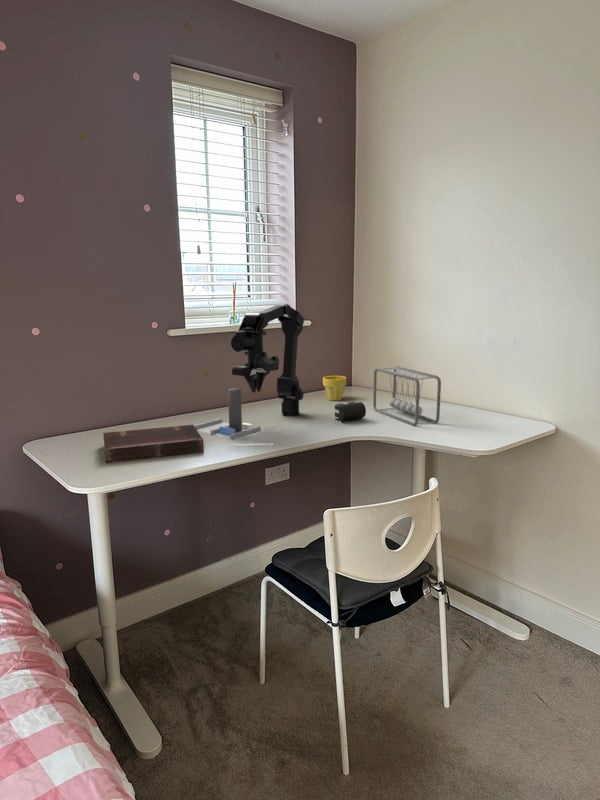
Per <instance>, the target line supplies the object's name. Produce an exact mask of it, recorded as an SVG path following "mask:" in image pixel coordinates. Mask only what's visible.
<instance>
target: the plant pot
mask: <svg viewBox="0 0 600 800" xmlns="http://www.w3.org/2000/svg"><path fill="white" fill-rule="evenodd" d="M322 385H323V386H324V390H325V394H326V399H327V400H328V401H342V400H343V398H344V391H345V387H346V386H347V377H346V376H343V375H327V376H323V377H322Z"/></svg>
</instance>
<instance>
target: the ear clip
mask: <svg viewBox="0 0 600 800" xmlns="http://www.w3.org/2000/svg"><path fill="white" fill-rule="evenodd" d="M253 427H254V424H252V423H248V422H242V428H245V429H250V428H253Z"/></svg>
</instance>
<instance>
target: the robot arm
mask: <svg viewBox="0 0 600 800" xmlns="http://www.w3.org/2000/svg"><path fill="white" fill-rule="evenodd" d="M276 319H277V321H279V323H280V324H281V330H282V332H283V334H284V348H283V349H284V350H283V351H284V352H283V365H282V366H283V367H282V373H281V375H280V376H278V377H277V379H276V392H277V395H278V396H277V397H278V399H279V400H280V399H281V400H282V401H281V413H282V416H300V401H302V400H303V399H304V392H303V390H302V389H301V387H300V380H299V378H298V376H297V374H296V370H297V369H296V368H297V356H298V355H297V352H298V338H299V336H300V334H301V333H302V331H303V328H304V323H305V319H304V317H303V315H302V314H301V313H300V311H298V310H296V309H294V308H293V307H291V305H290V304H288V303H277V304H275V305H273V306H271V307H269V308H267V309H264V310H261V311H255V312H254V311H253V312H246V313H245V314H244V316H243V319H242V320H241V323H240V326H239V329H238V331H235V335H234V336H233V337H232V338H231V341H230V345H231V348H232V350H233V351H235V352H238V353H239V352H244V355H245V356H246V357H247V359H246V360H247V362H245V363H244V364H245V365H236V366H233V367H232V369H231V375H233V376H240V377H244V379H245V381H246V382H247V384H248V386H249V389H250V390H251V393H255V394H256V391H257V392H261V389H262V385H263V382H264V381H265V378H266V376H267V375H269V374H270V373H271V372H272V371H273V372H274V371H275V372H276V371H277V370H278V371H279V365H280V357H279V356H277V355H272V356H268V355H267V351H265V350H264V336H266V335H267V332H266V331H265V330H264V329H265V328H266V327H268V325H269V323H270V322H273V321H275V320H276Z"/></svg>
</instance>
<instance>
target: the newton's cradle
mask: <svg viewBox="0 0 600 800" xmlns="http://www.w3.org/2000/svg"><path fill="white" fill-rule="evenodd" d="M391 369H393V370H391ZM378 372H379V373H380V372H382V373H384V374H389V375H390V376H392V375H393V377H389V379H390V380H389V381H390V382H392V384H390V388H391V389H392V391H391V392H392V393H391V394H392V398H390V399H389V401H388V404H389V406H390V407H388V408H380V409H379V408H377V378H378V377H377V373H378ZM403 372H404V373H403ZM406 373H408V374H406ZM414 375H416V376H414ZM418 376H420V377H418ZM391 378H393V380H391ZM399 378H402V379H403V381H402V379H400V382H401V384H404V382H405V379H406V380H409V381H408V382H406V384H407V385H406V386H407V389H410V385H409V384H410V381H413V382H414V381H415V383H412V385H413V386H412V387H413V392H412V395H415V396H412V397H411V400H413V398H414V399H415V404H414V403H413V401H411V400H410V397H408V395H410V392H409V390H407V392H406V394H407V395H406V398H405V396H404V394H403V392H404V390H403V389H404V388H403V387H404V385H401V391H400V392H401V393H400V394H402V395H400V397H397V396H396V393H397V395H399V392H398V384H399V380H397V379H399ZM427 379H428V380H430V379H436V381H437V390H436V391H437V394H436V395H437V396H436V413H435V414H436V416H435V417H436V418H435V419H434V418H430V417H428V416H424V415H422V413H423V408H422V407H421V405H420V397H421V395H420V394H421V391H422V389H421V388H422V387H423V384H421V385H420V380H421V382H423V381H424V380H427ZM441 392H442V380H441V377H439V376H438V375H436V374H431V373H428V372H424V371H423V372H422V371H419V370H414V369H410V368H407V367H402V366H399V365H398V366H394V367H385V368H383V367H382V368H379V367H376V368H375V369H374V370H373V396H372V397H373V398H372V399H373V401H372V407H373V410H374V411H375V412H377V413H379V412H380V413H379V414H381V415H384V414H385V415H384V416H387V417H389V416H390V418H392V419H395V420H397V421H399V422H402V423H405V424H408V425H410V426H414V427H415V426H418V425H422V424H429V423H430V424H431V423H433V424H437V423H439V421H440V414H441V413H440V412H441V411H440V410H441ZM402 396H403V397H402ZM396 397H397V398H396ZM401 397H402V398H403V399H407V398H408V400H409V402H408V401H407V400H402V399H401ZM393 409H395V410H397V409H398V410H397V411H399V412H402V411H403V412H402V413H405V412H406V414H408V413H409V414H408V415H411V414H412V415H411V416H414V421H410V420H408V419H405V418H402V417H400V416H398V415H394V414H392V413H389V412H387V411H386V410H393ZM419 419H422V420H425V421H424V422H419Z"/></svg>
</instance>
